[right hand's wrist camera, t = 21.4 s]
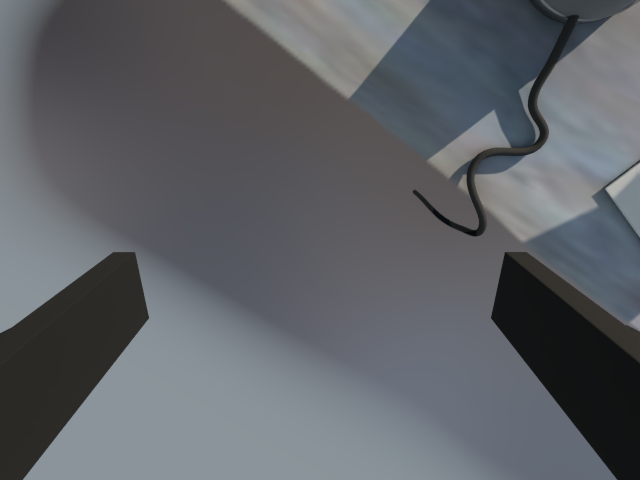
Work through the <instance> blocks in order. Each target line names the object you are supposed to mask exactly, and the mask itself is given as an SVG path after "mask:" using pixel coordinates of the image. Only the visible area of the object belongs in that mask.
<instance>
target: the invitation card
mask: <svg viewBox="0 0 640 480" xmlns="http://www.w3.org/2000/svg"><path fill="white" fill-rule="evenodd" d="M604 189H605V190H606V191H607V193H608V194H609V196H610V197H611V198H612V200H613V201H614V203H615V204H616V205H617V207H618V208H619V210H620V211H621V213H622V214H623V215H624V217H625V218H626V220H627V221H628V222H629V224H630V225H631V227H632V228H633V229H634V231H635V232H636V234H637V235H638V236H639V238H640V162H639V163H637V164H636V165H635V166H633V167H632V168H631V169H629V170H628V171H627V172H626V173H624V174H623V175H622V176H620V177H619V178H618V179H616V180H615V181H614V182H612V183H611V184H610V185H608V186H607V187H606V188H604Z"/></svg>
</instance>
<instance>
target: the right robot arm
mask: <svg viewBox="0 0 640 480" xmlns="http://www.w3.org/2000/svg"><path fill="white" fill-rule="evenodd" d="M638 1H640V0H531V2H532V3H533V4H534V5H535V7H536V8H537V9H539V10H540V11H541V12H542V13H544V14H545V15H546V16H548V17H550V18H552V19H554V20H557V21H560V22H564V23H566V24H565V26H564V28H563V30H562V32H561V34H560V36H559V38H558V40H557V42H556V44H555V47H554V49H553V51H552V53H551V55H550V57H549V59H548V61H547V63H546V64H545V66H544V68H543V69H542V71H541V73H540V74H539V76H538V77H537V79H536V81H535V83H534V84H533V86H532V89H531V91H530V95H529V99H528V108H529V112H530V114H531V116H532V118H533V120H534V121H535V123H536V124H537V126H538V128H539V131H540V136H539V138H538V140H537V141H536V142H535V143H534V144H533V145H532V146H529V147H525V148H492V149H488V150H485V151H483V152H481V153H480V154H478V155H477V156H476V157H475V158H474V159H473V160H472V162H471V164H470V166H469V168H468V172H467V187H468V191H469V194H470V197H471V199H472V202H473V204H474V207H475V209H476V211H477V214H478V218H479V227H478V229H477V230H472V229H469V228H467V227H464V226H462V225H459V224H457V223H454V222H452V221H450V220H449V219H447V218H446V217H444V216H443V215H441V214H440V213H439V212H438V211H437V210H436V209H435V208H434V207H433V206H432V205H431V204H430V203H429V202H428V201H427V200H426V199H425V198H424V197H423V196H422V195H421V194H420V193H419V192H418V191H416V190H413V194H414V195H416V196H417V197H418V198H419V199H420V200H421V201H422V202H423V204H424V205H425V206H426V207H427V208H428V209H429V210H430V211H431V212H432V213H433V214H434V215H435V216H436V217H437V218H438V219H439V220H440V221H442V222H443V223H445V224H446V225H448V226H450V227H451V228H454V229H456V230H458V231H461V232H463V233H465V234H467V235H470V236H474V237H476V236H480V235H482V234H483V232H484V231H485V229H486V226H487V219H486V214H485V212H484V209H483V206H482V204H481V201H480V199H479V197H478V194H477V191H476V187H475V182H474V175H475V171H476V168H477V167H478V165H479V163H480V162H481V161H482V160H483V159H485V158H487V157H490V156H523V155H528V154H531V153H534V152H535V151H537V150H538V149H540V148H541V147H542V146H543V145H544V143H545V142H546V140H547V138H548V134H549V129H548V126H547V124H546V122H545V120H544V119H543V117H542V115H541V114H540V112H539V110H538V107H537V99H538V95H539V92H540V89H541V87H542V85H543V84H544V82H545V80H546V79H547V77H548V76H549V74H550V73H551V71H552V69H553V68H554V66H555V64H556V62H557V61H558V59H559V57H560V55H561V53H562V51H563V49H564V47H565V45H566V43H567V41H568V38H569V36H570V34H571V32H572V30H573V28H574V26H575V24H579V23H588V22H592V21H596V20H600V19H603V18H606V17H609V16H613V15H615V14H617V13H620V12H622V11H624V10H626V9H627V8H629V7H631V6H632V5H634V4H635V3H637V2H638ZM148 319H149V316H148V311H147V307H146V302H145V297H144V293H143V288H142V283H141V279H140V274H139V269H138V264H137V260H136V255H135V252H113V253H112V254H110V255H109V256H108V257H106V258H105V259H104V260H102V261H101V262H100V263H98V264H97V265H96V266H94V267H93V268H91V269H90V270H89V271H87V272H86V273H85V274H83V275H82V276H81V277H79V278H78V279H77V280H75V281H74V282H73V283H71V284H70V285H69V286H67V287H66V288H65V289H63V290H62V291H60V292H59V293H58V294H56V295H55V296H54V297H52V298H51V299H50V300H48V301H47V302H46V303H44V304H43V305H42V306H40V307H39V308H38V309H36V310H35V311H33V312H32V313H31V314H29V315H28V316H27V317H25V318H24V319H23V320H21V321H20V322H19V323H17V324H16V325H15V326H13V327H12V328H10V329H8V330H6V331H4V332H2V333H0V480H23V479H24V477H25V476H26V475H27V474H28V472H29V471H30V470H31V468H32V467H33V466H34V465H35V463H36V462H37V461H38V459H39V458H40V457H41V456H42V454H43V453H44V452H45V450H46V449H47V448H48V447H49V445H50V444H51V443H52V442H53V440H54V439H55V438H56V436H57V435H58V434H59V433H60V431H61V430H62V429H63V427H64V426H65V425H66V424H67V422H68V421H69V420H70V419H71V417H72V416H73V415H74V413H75V412H76V411H77V410H78V408H79V407H80V406H81V404H82V403H83V402H84V400H85V399H86V398H87V397H88V395H89V394H90V393H91V392H92V390H93V389H94V388H95V386H96V385H97V384H98V383H99V381H100V380H101V379H102V378H103V376H104V375H105V374H106V372H107V371H108V370H109V369H110V367H111V366H112V365H113V363H114V362H115V361H116V360H117V358H118V357H119V356H120V354H121V353H122V352H123V351H124V349H125V348H126V347H127V346H128V344H129V343H130V342H131V340H132V339H133V338H134V337H135V335H136V334H137V333H138V331H139V330H140V329H141V328H142V326H143V325H144V324H145V322H146V321H147V320H148ZM491 319H492V320H493V321H494V322H495V324H496V325H497V326H498V328H499V329H500V330H501V331H502V333H503V334H504V335H505V337H506V338H507V339H508V340H509V342H510V343H511V344H512V346H513V347H514V348H515V349H516V351H517V352H518V353H519V355H520V356H521V357H522V358H523V360H524V361H525V362H526V363H527V365H528V366H529V367H530V369H531V370H532V371H533V372H534V374H535V375H536V376H537V378H538V379H539V380H540V381H541V383H542V384H543V385H544V386H545V388H546V389H547V390H548V392H549V393H550V394H551V395H552V397H553V398H554V399H555V401H556V402H557V403H558V404H559V406H560V407H561V408H562V410H563V411H564V412H565V413H566V415H567V416H568V417H569V419H570V420H571V421H572V422H573V424H574V425H575V426H576V427H577V429H578V430H579V431H580V433H581V434H582V435H583V436H584V438H585V439H586V440H587V442H588V443H589V444H590V445H591V447H592V448H593V449H594V451H595V452H596V453H597V454H598V456H599V457H600V458H601V459H602V461H603V462H604V463H605V465H606V466H607V467H608V468H609V470H610V471H611V472H612V474H613V475H614V476H615V477H616V479H617V480H640V332H639V331H637V330H635V329H633V328H631V327H629V326H627V325H624V324H623V323H621V322H620V321H619V320H617V319H616V318H615V317H613V316H612V315H611V314H609V313H608V312H607V311H605V310H604V309H602V308H601V307H600V306H598V305H597V304H596V303H594V302H593V301H592V300H590V299H589V298H588V297H586V296H585V295H584V294H582V293H581V292H580V291H578V290H577V289H575V288H574V287H573V286H571V285H570V284H569V283H567V282H566V281H565V280H563V279H562V278H561V277H559V276H558V275H557V274H555V273H554V272H553V271H551V270H550V269H548V268H547V267H546V266H544V265H543V264H542V263H540V262H539V261H538V260H536V259H535V258H534V257H532V256H531V255H530V254H528V253H527V252H505V255H504V260H503V264H502V269H501V274H500V278H499V283H498V288H497V293H496V297H495V302H494V307H493V311H492V316H491Z"/></svg>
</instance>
